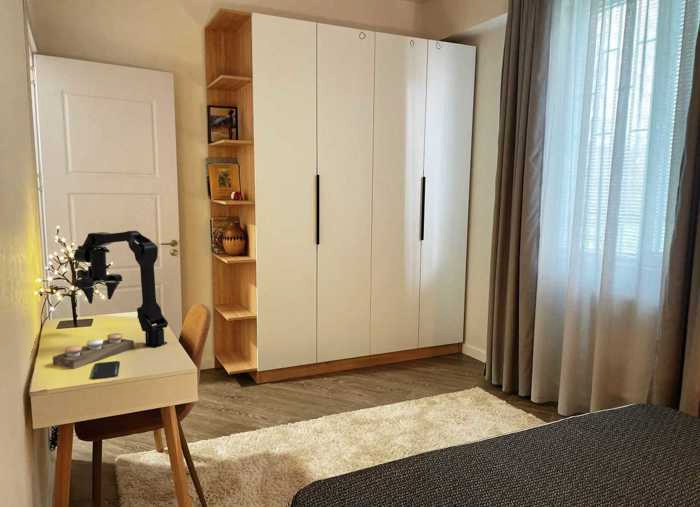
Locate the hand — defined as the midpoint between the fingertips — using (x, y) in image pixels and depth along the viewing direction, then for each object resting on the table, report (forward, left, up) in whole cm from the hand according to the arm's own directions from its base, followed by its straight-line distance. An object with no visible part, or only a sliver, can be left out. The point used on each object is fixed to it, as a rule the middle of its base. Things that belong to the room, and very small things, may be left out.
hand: (100, 301), depth 213 cm
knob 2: (-19, +11, -13) cm, 26 cm away
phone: (-35, +30, -15) cm, 49 cm away
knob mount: (-19, +20, -15) cm, 31 cm away
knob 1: (-19, +29, -13) cm, 37 cm away
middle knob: (-19, +20, -13) cm, 30 cm away
